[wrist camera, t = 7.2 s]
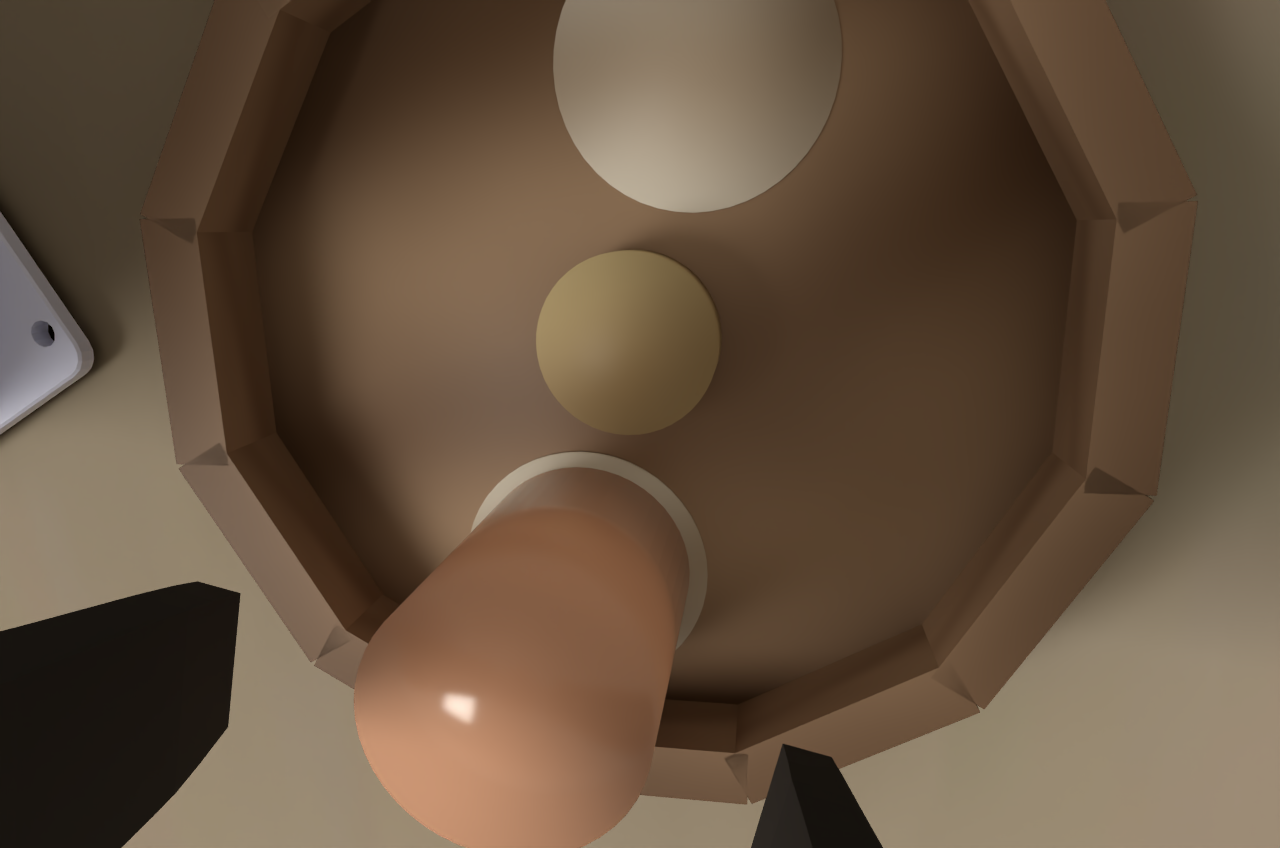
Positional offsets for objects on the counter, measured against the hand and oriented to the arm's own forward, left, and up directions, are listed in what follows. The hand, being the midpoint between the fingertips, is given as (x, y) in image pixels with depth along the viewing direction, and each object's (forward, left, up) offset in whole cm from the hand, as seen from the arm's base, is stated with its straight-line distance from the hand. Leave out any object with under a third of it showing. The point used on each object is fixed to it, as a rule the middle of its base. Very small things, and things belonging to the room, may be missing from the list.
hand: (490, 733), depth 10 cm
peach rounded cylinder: (0, 0, -5) cm, 5 cm away
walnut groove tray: (-3, +3, -6) cm, 8 cm away
